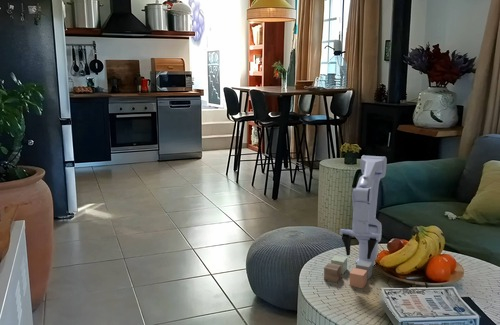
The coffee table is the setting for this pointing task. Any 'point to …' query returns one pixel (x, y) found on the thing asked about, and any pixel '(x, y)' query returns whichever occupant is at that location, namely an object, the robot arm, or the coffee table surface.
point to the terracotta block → (358, 277)
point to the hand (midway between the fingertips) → (358, 256)
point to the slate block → (365, 267)
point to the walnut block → (332, 272)
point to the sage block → (340, 262)
